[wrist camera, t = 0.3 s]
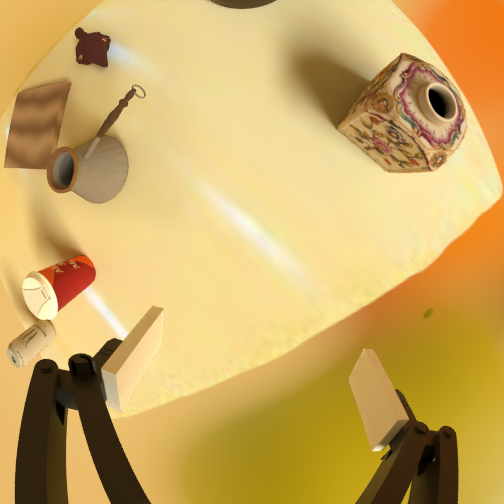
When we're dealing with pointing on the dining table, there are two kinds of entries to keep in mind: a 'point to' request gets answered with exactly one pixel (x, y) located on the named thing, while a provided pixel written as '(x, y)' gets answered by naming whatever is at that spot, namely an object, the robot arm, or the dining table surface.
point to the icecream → (92, 48)
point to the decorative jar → (407, 117)
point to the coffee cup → (57, 286)
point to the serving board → (36, 126)
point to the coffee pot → (92, 163)
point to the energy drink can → (31, 343)
